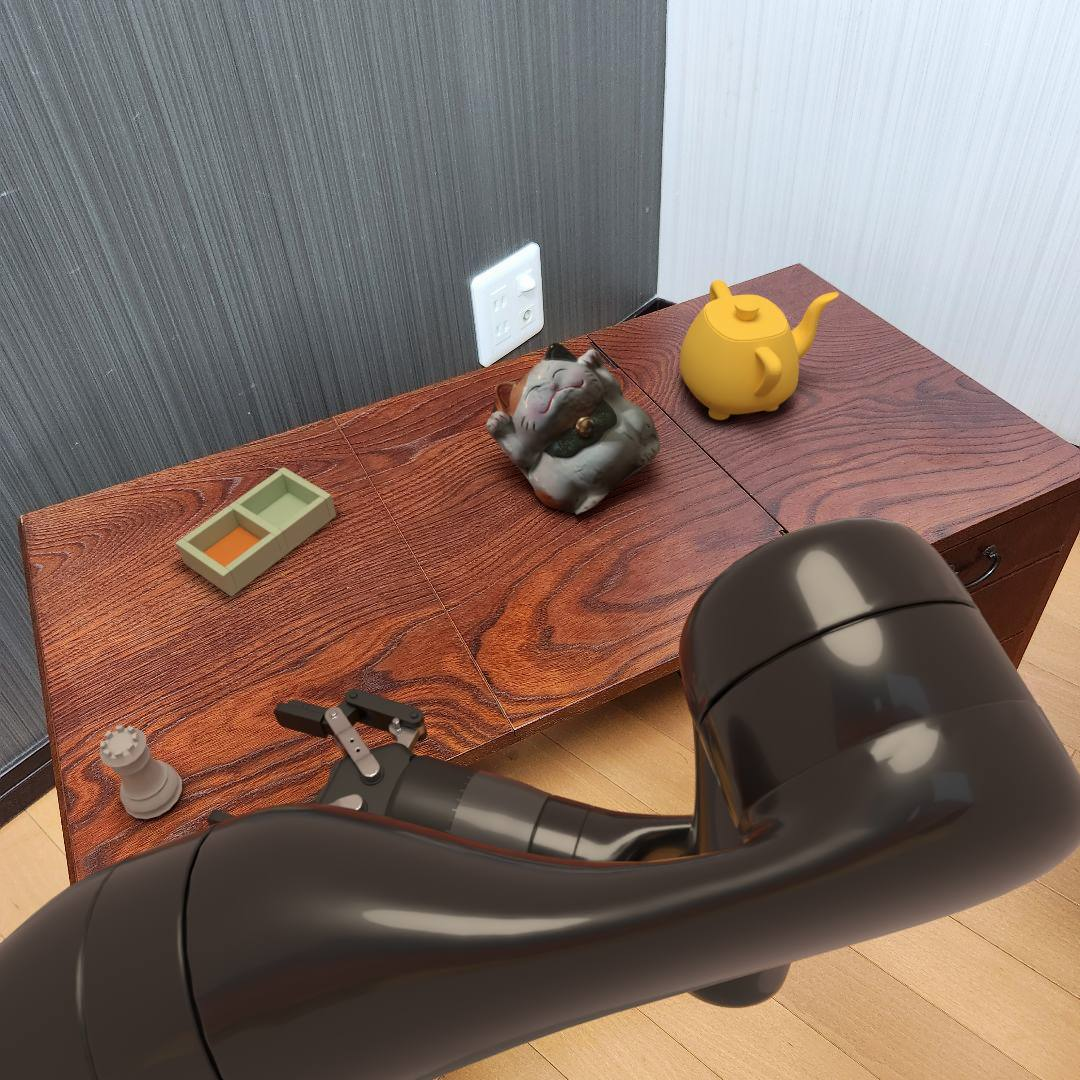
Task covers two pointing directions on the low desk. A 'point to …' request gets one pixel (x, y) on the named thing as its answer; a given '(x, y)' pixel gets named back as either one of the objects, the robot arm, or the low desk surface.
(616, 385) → the lucky cat figurine
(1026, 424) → the low desk surface
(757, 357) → the teapot
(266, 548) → the socket pad
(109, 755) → the rook chess piece
